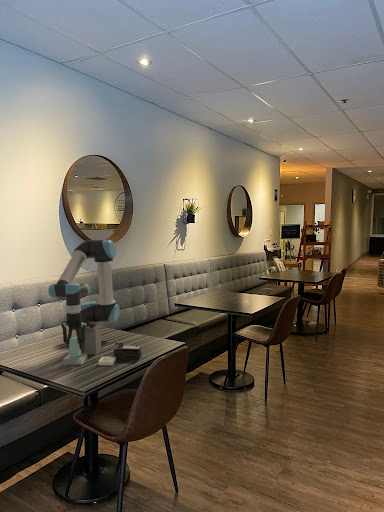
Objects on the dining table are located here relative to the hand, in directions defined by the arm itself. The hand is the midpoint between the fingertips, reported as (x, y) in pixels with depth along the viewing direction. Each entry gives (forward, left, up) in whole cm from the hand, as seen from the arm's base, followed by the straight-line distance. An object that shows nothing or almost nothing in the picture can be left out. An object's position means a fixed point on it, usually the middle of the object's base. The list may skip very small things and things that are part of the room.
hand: (75, 354), depth 216 cm
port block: (0, 0, -4) cm, 4 cm away
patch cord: (-11, -2, -4) cm, 12 cm away
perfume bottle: (-15, +5, -5) cm, 17 cm away
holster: (+2, +18, -4) cm, 19 cm away
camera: (-6, +27, -5) cm, 28 cm away
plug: (0, 0, -3) cm, 3 cm away
